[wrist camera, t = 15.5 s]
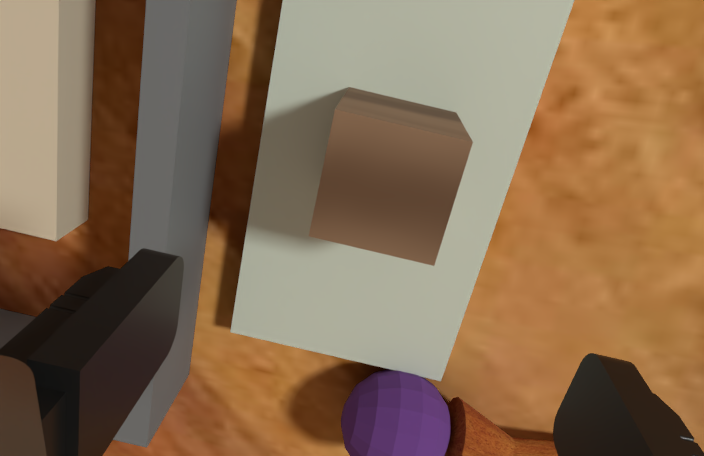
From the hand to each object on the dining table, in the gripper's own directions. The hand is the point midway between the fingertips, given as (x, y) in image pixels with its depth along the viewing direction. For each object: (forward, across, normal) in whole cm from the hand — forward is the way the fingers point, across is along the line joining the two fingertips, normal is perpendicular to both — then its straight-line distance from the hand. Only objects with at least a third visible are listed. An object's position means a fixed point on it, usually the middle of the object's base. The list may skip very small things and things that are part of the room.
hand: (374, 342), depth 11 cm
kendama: (+18, -11, +15) cm, 26 cm away
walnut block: (+16, 0, 0) cm, 16 cm away
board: (+18, 0, 0) cm, 18 cm away
